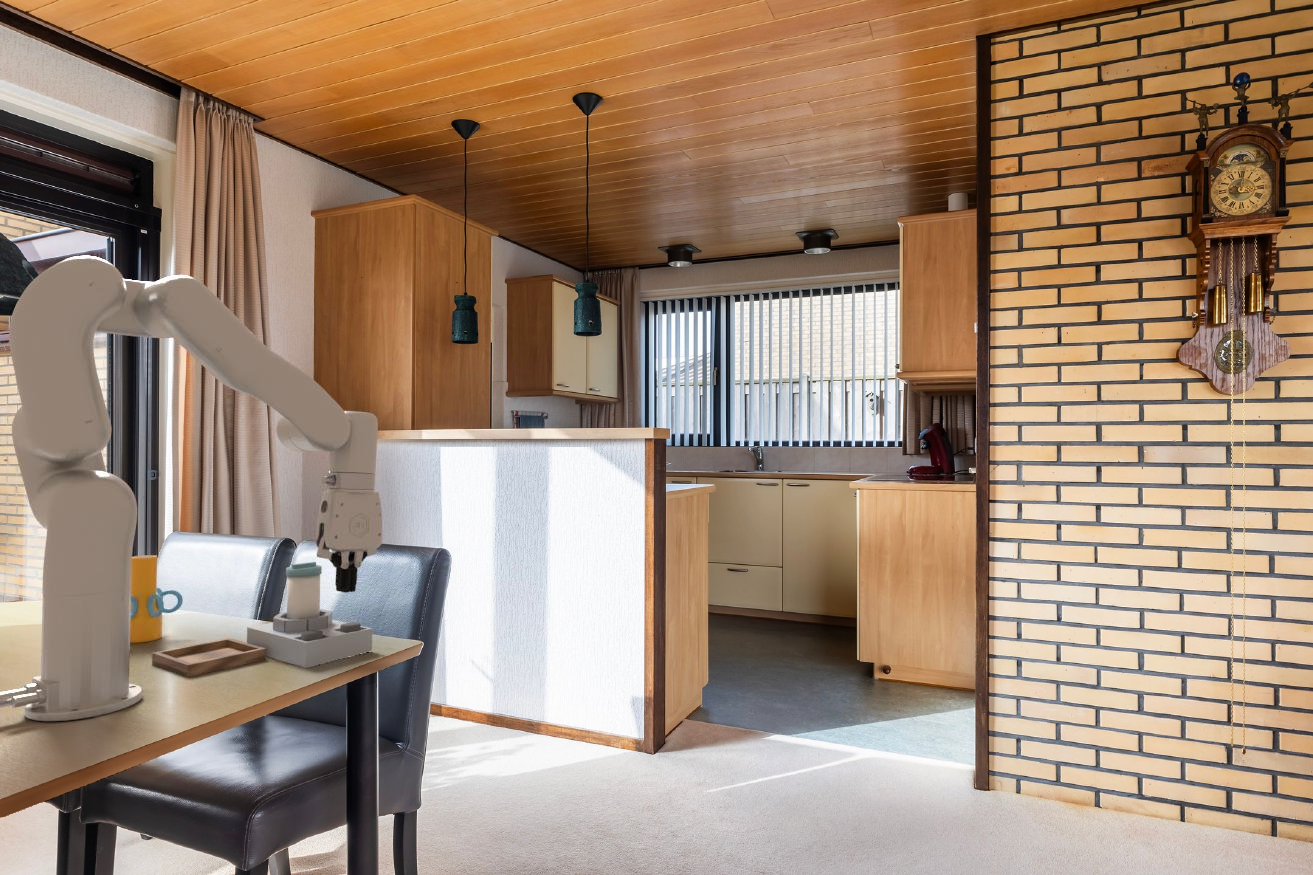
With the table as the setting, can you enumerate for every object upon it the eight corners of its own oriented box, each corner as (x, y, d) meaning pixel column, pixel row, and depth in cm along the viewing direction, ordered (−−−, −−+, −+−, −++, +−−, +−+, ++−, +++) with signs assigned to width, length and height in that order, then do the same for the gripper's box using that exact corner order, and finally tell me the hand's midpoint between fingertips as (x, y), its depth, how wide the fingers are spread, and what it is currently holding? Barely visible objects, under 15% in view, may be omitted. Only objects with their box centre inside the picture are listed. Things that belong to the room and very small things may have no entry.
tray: (187, 676, 114) (187, 665, 114) (152, 663, 121) (152, 652, 121) (265, 659, 124) (266, 648, 124) (229, 648, 131) (229, 637, 131)
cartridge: (296, 631, 127) (297, 566, 127) (278, 627, 130) (279, 563, 130) (327, 625, 131) (328, 562, 131) (309, 621, 134) (310, 560, 135)
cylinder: (91, 641, 135) (93, 557, 135) (153, 629, 144) (154, 551, 144) (129, 650, 129) (131, 562, 129) (191, 637, 138) (192, 555, 139)
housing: (305, 667, 119) (306, 630, 119) (246, 650, 129) (247, 615, 130) (371, 651, 129) (372, 616, 129) (312, 636, 139) (312, 604, 139)
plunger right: (347, 648, 126) (347, 627, 126) (336, 645, 128) (336, 625, 128) (364, 644, 129) (364, 624, 129) (353, 641, 131) (353, 621, 131)
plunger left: (307, 657, 121) (308, 636, 121) (296, 654, 122) (297, 633, 122) (326, 653, 123) (326, 632, 123) (315, 650, 125) (315, 629, 125)
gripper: (323, 483, 121) (317, 598, 120) (402, 484, 133) (396, 589, 132) (297, 482, 125) (291, 593, 124) (375, 483, 137) (370, 584, 136)
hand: (345, 590), depth 128 cm, fingers closed
